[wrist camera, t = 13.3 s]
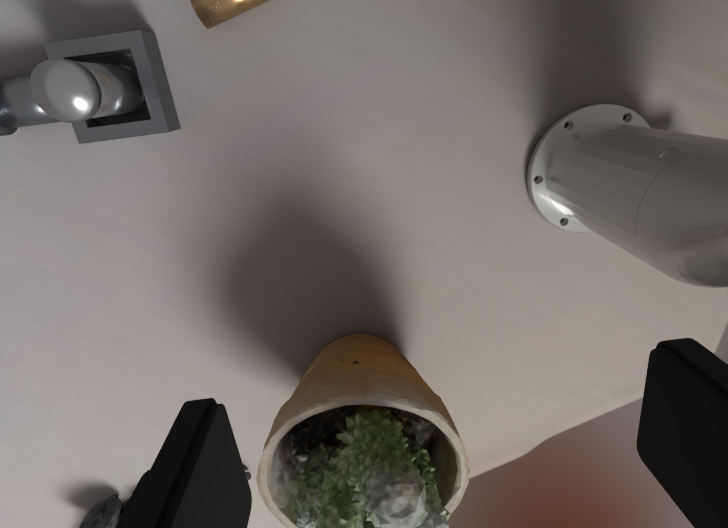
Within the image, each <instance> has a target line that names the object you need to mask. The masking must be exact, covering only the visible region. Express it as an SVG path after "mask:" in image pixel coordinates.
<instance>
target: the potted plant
mask: <svg viewBox="0 0 728 528" xmlns="http://www.w3.org/2000/svg"><path fill="white" fill-rule="evenodd" d="M468 474H469V467H468V458H467V455H466V452H465V449H464V446H463V443H462V441H461V438H460V436H459V434H458V431H457V429H456V427H455V425H454V422H453V420H452V418H451V416H450V414H449V412H448V411H447V409H446V407H445V405H444V403H443V401H442V400H441V398H440V397H439V396H438V395H437V394H435V393H434V392H433V391H432V390H431V388H430V387H429V386H428V385H427V384H426V382H425V381H424V380H423V379H422V378H421V376H420V375H419V374H418V372H417V371H416V369H415V368H414V367H413V366H412V365H411V364H410V362H409V361H408V360H407V359H406V358H405V357H404V356H403V355H402V353H401V352H400V351H399V350H398V349H397V348H396V347H395V346H394V345H393V344H392V343H391V342H389V341H387V340H385V339H383V338H381V337H378V336H374V335H371V334H350V335H347V336H344V337H342V338H339V339H336V340H334V341H332V342H331V343H329V344H328V345H327V346H326V347H324V348H323V349H322V350H321V351H320V352H319V354H318V355H317V356H316V358H315V359H314V361H313V362H312V363H311V365H310V366H309V368H308V369H307V371H306V372H305V374H304V376H303V377H302V379H301V381H300V383H299V385H298V387H297V388H296V390H295V391H294V393H293V395H292V396H291V398H290V399H289V400H288V401H287V402H286V403H285V404H284V405H283V406H282V407H281V409H280V410H279V412H278V414H277V416H276V418H275V420H274V423H273V425H272V428H271V431H270V434H269V436H268V438H267V440H266V442H265V446H264V450H263V454H262V456H261V458H260V463H259V468H258V473H257V484H258V489H259V494H260V495H261V497H262V499H263V501H264V503H265V505H266V506H267V508H268V510H269V511H270V512H271V513H272V514H273V515H274V516H275V517H276V518H277V519H278V520H279V521H280V522H281V523H282V524H283V525H285V526H286V527H287V528H449V524H448V522H447V521H448V519H449V516H450V515H451V513H452V512H453V511H454V510H455V508H456V507H457V505H458V504H459V503H460V501H461V499H462V497H463V494H464V492H465V489H466V487H467V484H468V482H469V478H468Z"/></svg>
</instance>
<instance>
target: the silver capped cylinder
mask: <svg viewBox="0 0 728 528" xmlns="http://www.w3.org/2000/svg"><path fill="white" fill-rule="evenodd" d="M30 89H31V93H32V96H33V98H34V100H35V102H36V103H37V105H38V106H39V107H40V108H41V109H42V110H43V111H44V112H45V113H46V114H47V115H49V116H50V117H52V118H54V119H56V120H58V121H62V122H69V123H70V122H78V121H84V120H88V119H90V118H97V117H104V116H111V115H118V114H121V115H127V114H134V113H137V112H139V111H141V110H142V109H143V108H144V107H145V106H146V105H147V103H146V100H145V96H144V93H143V90H142V86H141V83H140V79H139V76H138V73H137V70H136V69H135V68H133V67H131V66H129V65H126V64H117V63H111V64H101V63H88V62H76V61H73V60H69V59H57V58H51V59H46V60H43V61H42V62H40V63H39V64H38V65H36V67H35V68H34V70H33V71H32V74H31V77H30Z"/></svg>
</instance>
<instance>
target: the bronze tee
mask: <svg viewBox="0 0 728 528" xmlns="http://www.w3.org/2000/svg"><path fill="white" fill-rule="evenodd" d="M190 1H191V4H192V6H193V8H194V10H195V12H196V14H197V15H198V17H199V19H200V20H201V22H202V23H203V24H204V26H205V27H206V28H207V29H210V28H212V27H214V26H216V25H218V24H220V23H222V22H224V21H227V20H229V19H231V18H233V17H235V16H237V15H239V14H241V13H243V12H246V11H248V10H250V9H252V8H254V7H256V6H258V5H260V4H263V3H265V2H267V1H269V0H190Z"/></svg>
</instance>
